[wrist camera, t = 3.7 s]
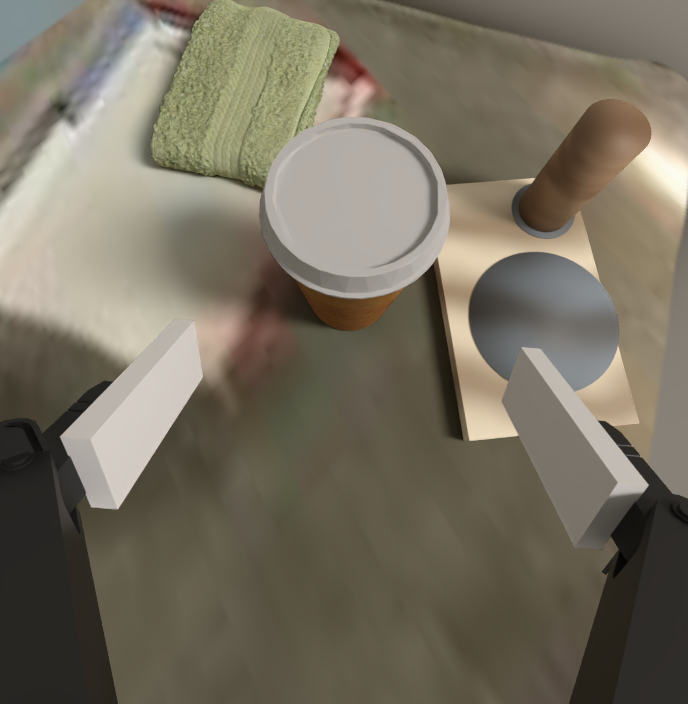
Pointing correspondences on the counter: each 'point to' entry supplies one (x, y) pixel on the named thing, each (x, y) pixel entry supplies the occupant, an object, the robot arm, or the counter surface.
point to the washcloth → (242, 91)
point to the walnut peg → (584, 163)
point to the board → (523, 308)
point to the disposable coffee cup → (354, 216)
